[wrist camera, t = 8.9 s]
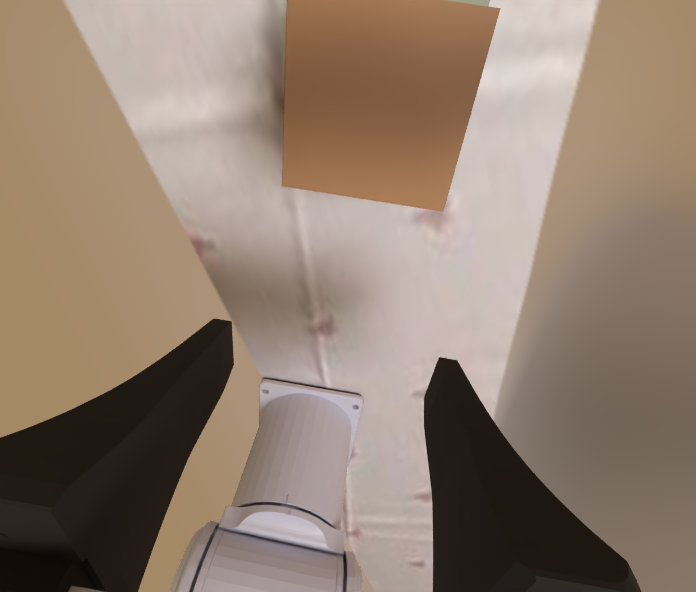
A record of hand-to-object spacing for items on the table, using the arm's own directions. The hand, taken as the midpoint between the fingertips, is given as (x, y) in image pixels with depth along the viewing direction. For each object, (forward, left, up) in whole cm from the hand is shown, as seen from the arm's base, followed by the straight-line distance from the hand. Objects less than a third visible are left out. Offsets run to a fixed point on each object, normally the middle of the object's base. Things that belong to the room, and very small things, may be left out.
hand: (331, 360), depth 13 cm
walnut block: (+8, 0, -6) cm, 10 cm away
